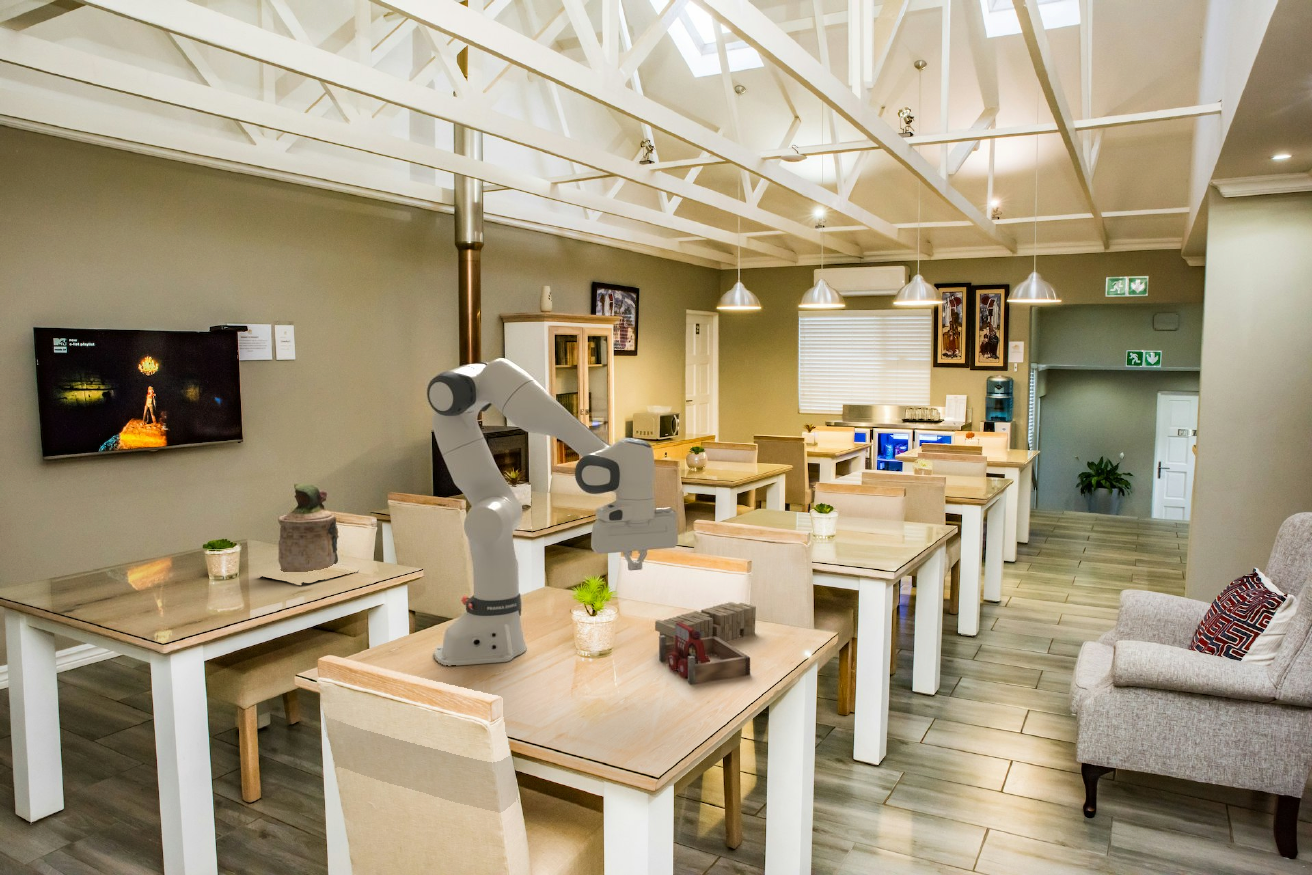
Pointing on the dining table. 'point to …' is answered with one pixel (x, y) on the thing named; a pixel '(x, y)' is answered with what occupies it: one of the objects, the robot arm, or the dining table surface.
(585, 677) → the dining table surface
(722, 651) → the bay
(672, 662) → the toy fire truck
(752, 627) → the block tower
